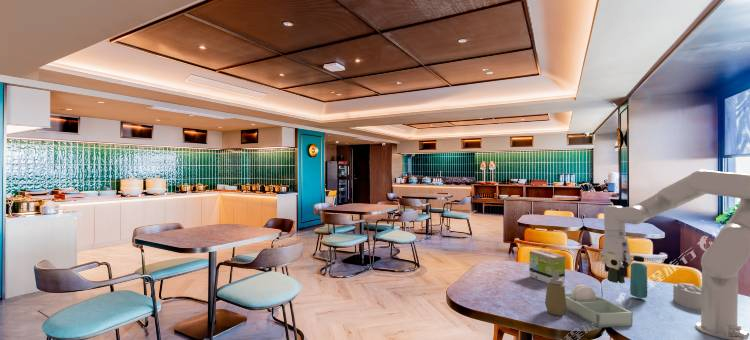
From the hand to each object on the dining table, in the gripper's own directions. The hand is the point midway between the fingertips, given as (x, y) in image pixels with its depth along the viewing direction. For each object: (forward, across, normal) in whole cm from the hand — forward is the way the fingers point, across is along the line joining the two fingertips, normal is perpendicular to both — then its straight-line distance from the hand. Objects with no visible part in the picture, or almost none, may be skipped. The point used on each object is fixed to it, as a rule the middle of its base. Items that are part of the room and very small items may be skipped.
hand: (615, 273), depth 151 cm
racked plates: (+13, -1, +17) cm, 21 cm away
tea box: (+14, +37, +8) cm, 40 cm away
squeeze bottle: (+14, -3, +32) cm, 35 cm away
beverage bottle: (+15, +7, -18) cm, 25 cm away
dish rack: (+14, -6, +17) cm, 23 cm away
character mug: (+4, 0, 0) cm, 4 cm away
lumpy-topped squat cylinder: (+16, -2, -36) cm, 40 cm away
